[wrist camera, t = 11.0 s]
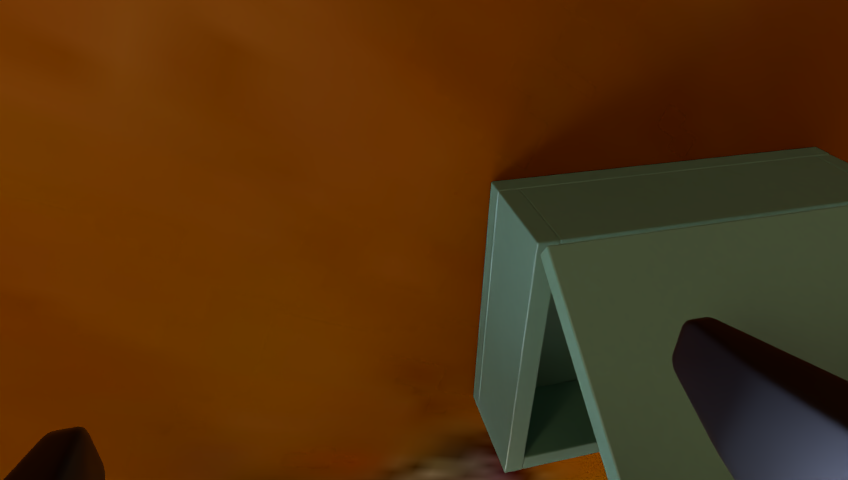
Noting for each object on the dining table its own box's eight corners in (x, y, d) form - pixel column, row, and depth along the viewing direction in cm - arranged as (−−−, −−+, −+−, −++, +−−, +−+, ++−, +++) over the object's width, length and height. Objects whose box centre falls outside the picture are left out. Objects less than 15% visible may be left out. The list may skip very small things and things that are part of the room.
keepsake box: (732, 347, 31) (794, 409, 27) (472, 396, 28) (504, 473, 24) (815, 146, 24) (910, 192, 21) (490, 181, 21) (537, 242, 18)
